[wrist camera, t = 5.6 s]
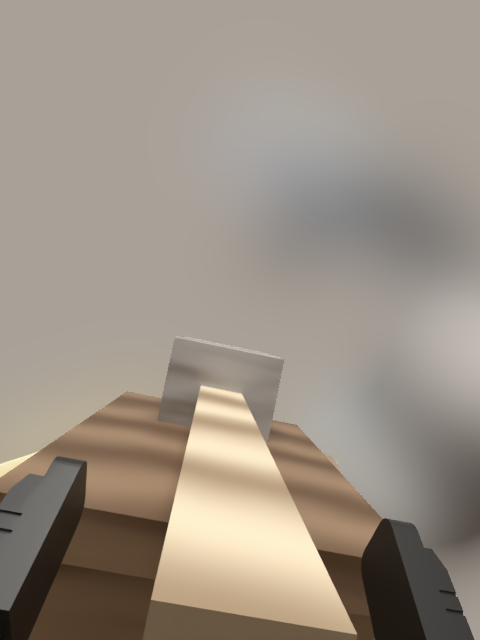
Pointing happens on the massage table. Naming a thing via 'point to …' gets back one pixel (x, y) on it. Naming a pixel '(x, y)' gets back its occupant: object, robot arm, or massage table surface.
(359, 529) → the plinth
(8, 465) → the massage table surface
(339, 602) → the bar
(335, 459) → the massage table surface
